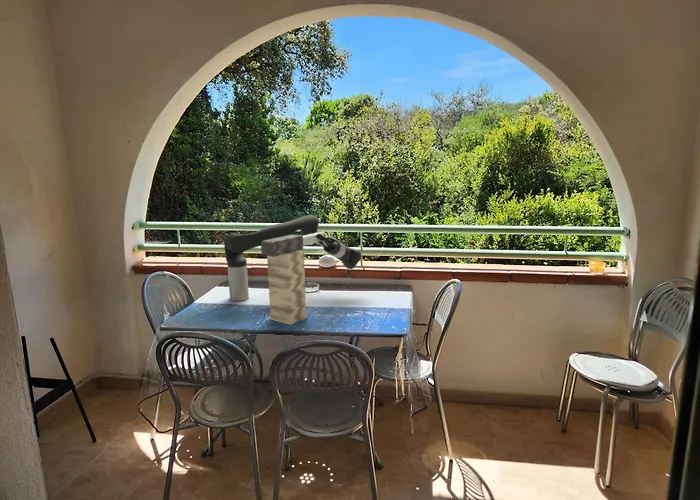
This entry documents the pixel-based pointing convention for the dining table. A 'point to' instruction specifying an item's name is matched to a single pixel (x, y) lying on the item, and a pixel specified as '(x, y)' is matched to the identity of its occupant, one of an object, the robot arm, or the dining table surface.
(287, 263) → the stand
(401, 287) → the dining table surface
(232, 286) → the robot arm
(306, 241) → the light grey bar
